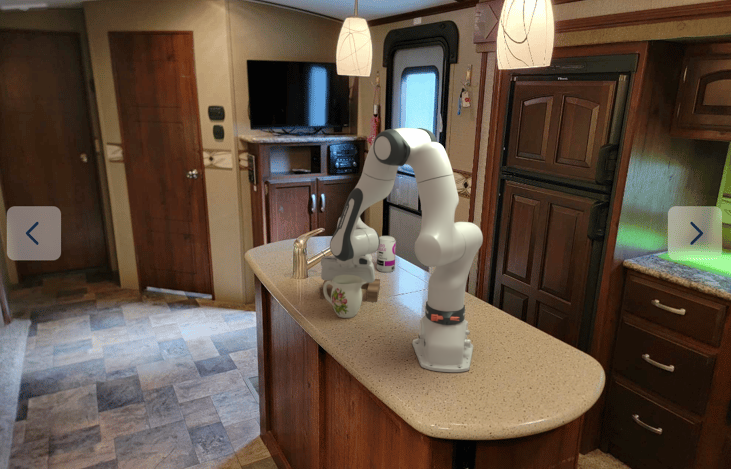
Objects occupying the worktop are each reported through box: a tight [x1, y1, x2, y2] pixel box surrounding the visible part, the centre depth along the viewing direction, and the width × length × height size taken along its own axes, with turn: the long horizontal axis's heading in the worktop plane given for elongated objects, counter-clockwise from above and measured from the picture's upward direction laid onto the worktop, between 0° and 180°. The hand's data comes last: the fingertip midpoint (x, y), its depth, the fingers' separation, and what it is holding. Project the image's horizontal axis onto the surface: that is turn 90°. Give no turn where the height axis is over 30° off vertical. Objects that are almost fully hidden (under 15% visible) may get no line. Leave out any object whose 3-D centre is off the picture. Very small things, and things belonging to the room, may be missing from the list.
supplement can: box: [376, 235, 397, 273], centre depth 218 cm, size 8×8×15 cm
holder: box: [319, 278, 381, 303], centre depth 191 cm, size 14×22×4 cm, turn 84°
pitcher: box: [323, 275, 367, 319], centre depth 172 cm, size 11×18×14 cm, turn 58°
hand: (347, 291), depth 183 cm, fingers closed
